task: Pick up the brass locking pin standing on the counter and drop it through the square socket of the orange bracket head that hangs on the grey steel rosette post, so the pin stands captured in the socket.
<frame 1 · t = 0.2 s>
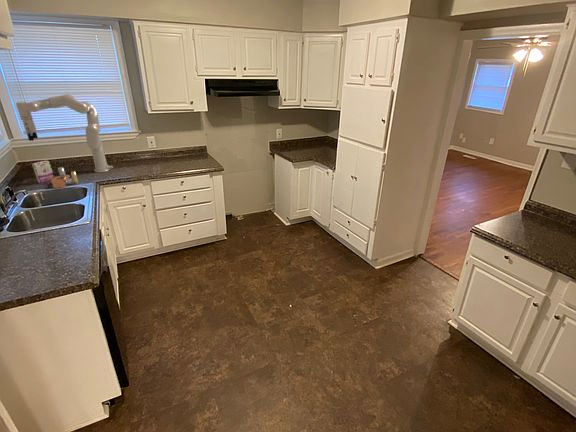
hand: (33, 139, 261), 31 cm above the worktop, fingers open, 9 cm apart
rosette post: (64, 181, 259), on the worktop
candy bar box: (46, 181, 259), on the worktop
locking pin: (76, 183, 255), on the worktop
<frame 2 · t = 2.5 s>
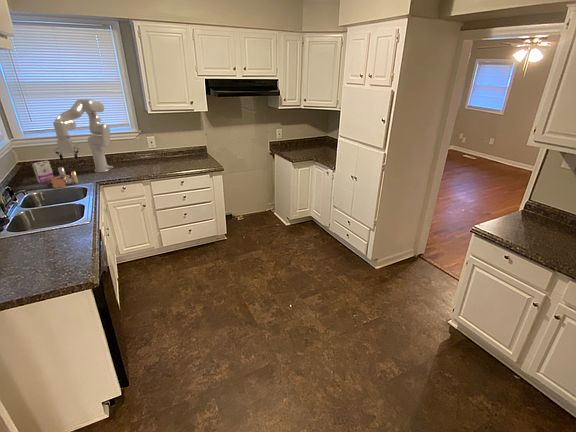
hand: (69, 159, 247), 20 cm above the worktop, fingers open, 9 cm apart
nothing on the worktop moved.
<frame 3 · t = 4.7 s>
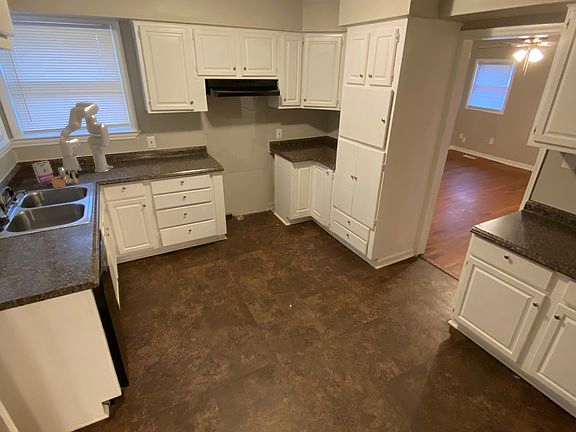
hand: (74, 178, 253), 5 cm above the worktop, fingers closed on locking pin, 3 cm apart
locking pin: (76, 183, 255), on the worktop, touching gripper
everything else where it was.
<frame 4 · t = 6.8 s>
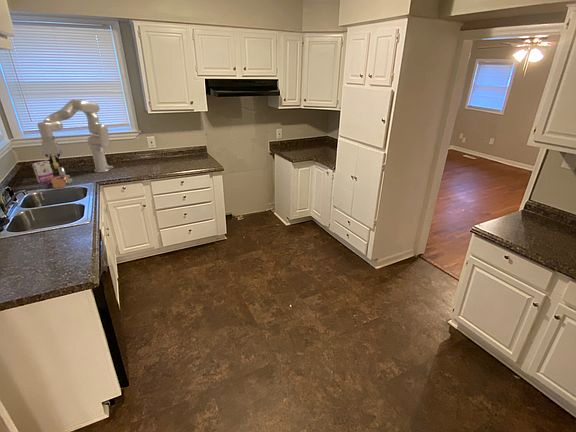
hand: (55, 162, 244), 19 cm above the worktop, fingers closed on locking pin, 3 cm apart
locking pin: (57, 168, 246), point 14 cm above the worktop, touching gripper
everything else where it was.
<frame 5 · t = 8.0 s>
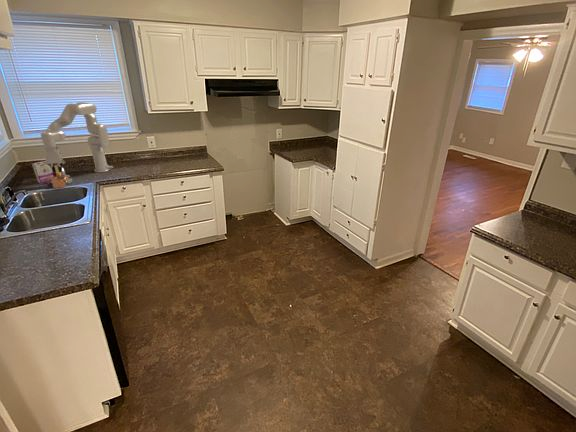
hand: (57, 171, 247), 11 cm above the worktop, fingers closed on locking pin, 3 cm apart
locking pin: (59, 177, 249), point 6 cm above the worktop, touching gripper
everything else where it was.
when the fingers open (7 cm above the worktop, at t = 9.0 s): locking pin drops 2 cm, on the worktop.
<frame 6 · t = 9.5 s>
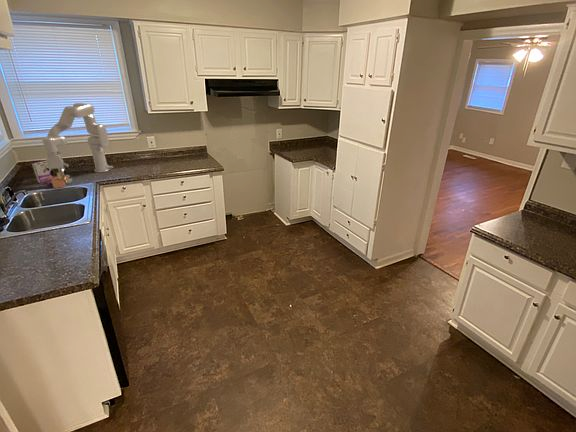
hand: (59, 175, 249), 8 cm above the worktop, fingers open, 8 cm apart
locking pin: (62, 184, 252), on the worktop
everything else where it was.
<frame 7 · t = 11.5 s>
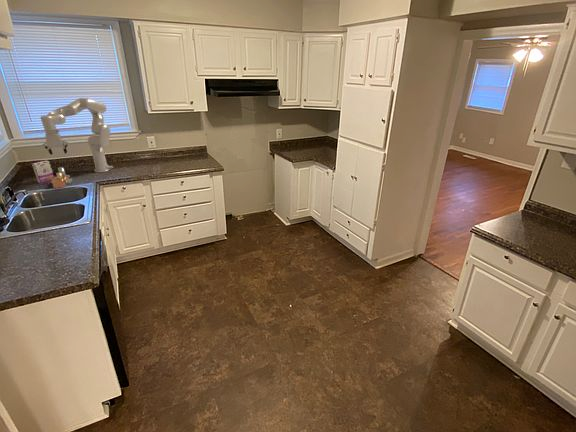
hand: (58, 153, 249), 24 cm above the worktop, fingers open, 9 cm apart
nothing on the worktop moved.
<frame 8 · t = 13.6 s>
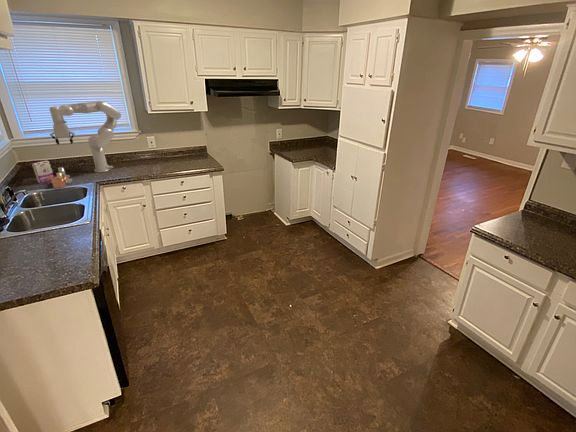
hand: (65, 143, 260), 28 cm above the worktop, fingers open, 9 cm apart
nothing on the worktop moved.
at the end: locking pin 0.0 cm from the target spot on the rosette post, point 0.0 cm above the rosette post's base; locking pin tilted 0°; the gripper is holding nothing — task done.
